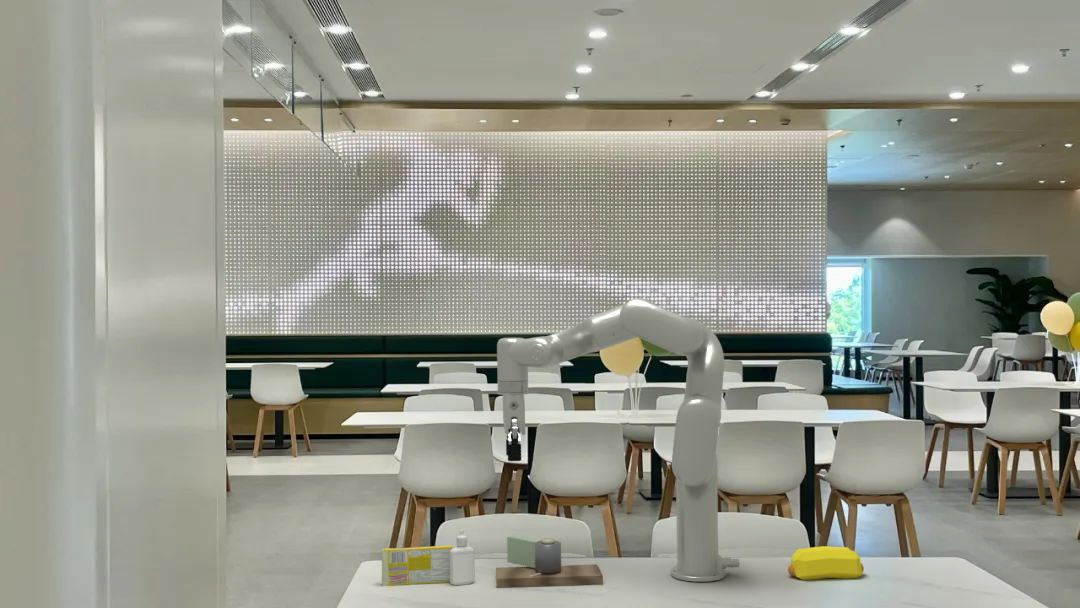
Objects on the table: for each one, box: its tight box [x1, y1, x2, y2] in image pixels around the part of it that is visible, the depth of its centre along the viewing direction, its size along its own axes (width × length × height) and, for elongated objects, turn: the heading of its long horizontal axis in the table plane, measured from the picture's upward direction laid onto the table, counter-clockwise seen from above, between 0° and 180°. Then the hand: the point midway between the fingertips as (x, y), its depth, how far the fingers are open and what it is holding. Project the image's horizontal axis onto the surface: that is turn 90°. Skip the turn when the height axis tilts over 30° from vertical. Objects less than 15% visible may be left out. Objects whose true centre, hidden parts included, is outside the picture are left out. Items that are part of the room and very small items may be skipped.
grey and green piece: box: [506, 535, 562, 574], centre depth 223 cm, size 15×6×7 cm, turn 49°
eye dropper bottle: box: [449, 529, 476, 586], centre depth 219 cm, size 4×6×12 cm
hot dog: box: [787, 546, 865, 581], centre depth 220 cm, size 18×7×8 cm
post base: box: [495, 564, 604, 589], centre depth 220 cm, size 24×10×2 cm, turn 94°
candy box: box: [381, 545, 453, 587], centre depth 219 cm, size 16×2×8 cm, turn 97°
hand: (513, 458), depth 234 cm, fingers open, 9 cm apart
